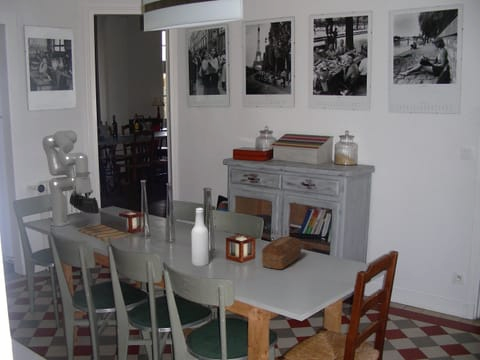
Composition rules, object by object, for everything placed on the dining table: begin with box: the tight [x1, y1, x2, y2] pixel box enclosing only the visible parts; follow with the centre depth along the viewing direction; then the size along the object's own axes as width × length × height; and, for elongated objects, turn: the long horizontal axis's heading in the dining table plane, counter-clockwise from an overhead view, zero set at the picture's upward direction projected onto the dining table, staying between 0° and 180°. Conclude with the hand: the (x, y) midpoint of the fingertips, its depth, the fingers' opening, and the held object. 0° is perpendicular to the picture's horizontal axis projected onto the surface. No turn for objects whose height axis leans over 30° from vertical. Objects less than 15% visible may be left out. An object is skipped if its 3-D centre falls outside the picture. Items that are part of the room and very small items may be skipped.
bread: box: [261, 236, 303, 270], centre depth 290 cm, size 14×28×12 cm, turn 150°
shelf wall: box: [99, 210, 128, 233], centre depth 350 cm, size 30×1×9 cm, turn 45°
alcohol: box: [190, 207, 210, 267], centre depth 286 cm, size 9×9×30 cm
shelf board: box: [76, 222, 131, 242], centre depth 346 cm, size 34×18×2 cm, turn 45°
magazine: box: [69, 190, 100, 215], centre depth 333 cm, size 17×3×30 cm
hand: (83, 204), depth 334 cm, fingers closed on magazine, 3 cm apart
